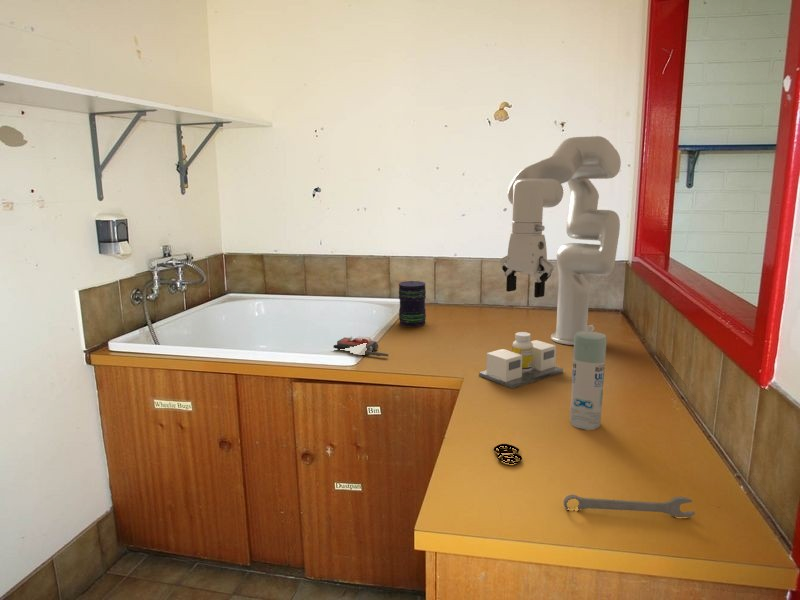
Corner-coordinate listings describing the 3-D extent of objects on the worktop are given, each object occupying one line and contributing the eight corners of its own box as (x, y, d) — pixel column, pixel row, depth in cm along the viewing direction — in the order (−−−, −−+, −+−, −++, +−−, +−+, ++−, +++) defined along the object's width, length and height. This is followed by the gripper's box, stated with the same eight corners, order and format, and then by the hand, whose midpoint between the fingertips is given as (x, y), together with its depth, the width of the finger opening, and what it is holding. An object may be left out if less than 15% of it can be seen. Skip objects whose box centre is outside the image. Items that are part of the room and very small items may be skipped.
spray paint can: (596, 432, 119) (602, 341, 115) (565, 426, 122) (570, 336, 118) (603, 421, 124) (610, 333, 120) (574, 415, 128) (579, 329, 124)
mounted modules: (535, 360, 163) (536, 340, 161) (555, 366, 157) (556, 345, 156) (486, 374, 152) (486, 353, 150) (506, 382, 146) (507, 359, 145)
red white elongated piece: (329, 352, 177) (386, 360, 168) (328, 339, 176) (386, 346, 167) (344, 345, 184) (399, 352, 176) (343, 332, 183) (399, 338, 175)
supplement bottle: (509, 365, 157) (510, 331, 155) (528, 365, 157) (530, 330, 155) (514, 372, 152) (515, 337, 149) (534, 371, 152) (536, 336, 150)
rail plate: (529, 361, 165) (529, 356, 165) (562, 372, 156) (563, 366, 155) (479, 375, 154) (479, 370, 153) (512, 388, 144) (512, 383, 144)
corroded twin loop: (498, 468, 106) (498, 463, 106) (491, 448, 114) (491, 443, 113) (525, 468, 106) (525, 462, 106) (516, 447, 114) (516, 442, 113)
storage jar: (426, 326, 204) (426, 286, 200) (398, 327, 204) (398, 286, 201) (425, 320, 213) (425, 280, 210) (399, 320, 214) (398, 281, 210)
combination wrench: (564, 494, 91) (698, 501, 88) (563, 490, 92) (695, 496, 89) (563, 515, 92) (696, 523, 88) (562, 511, 93) (693, 518, 90)
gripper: (563, 230, 142) (560, 297, 145) (512, 225, 155) (510, 287, 159) (543, 232, 137) (541, 301, 141) (492, 227, 151) (491, 290, 155)
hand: (524, 293), depth 150 cm, fingers open, 9 cm apart
